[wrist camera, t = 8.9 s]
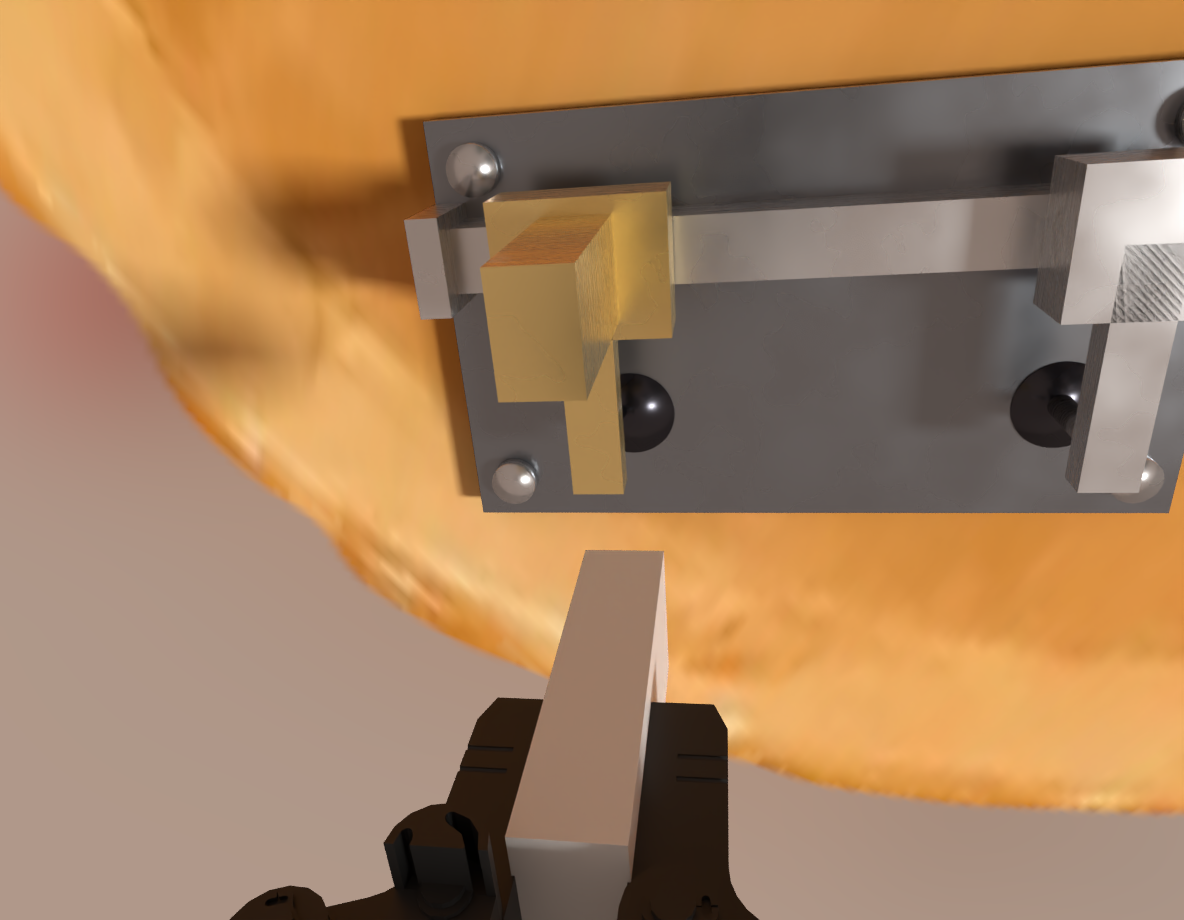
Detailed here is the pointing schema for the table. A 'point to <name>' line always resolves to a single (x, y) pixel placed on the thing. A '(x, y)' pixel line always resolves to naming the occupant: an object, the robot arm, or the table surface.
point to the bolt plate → (824, 305)
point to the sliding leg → (578, 306)
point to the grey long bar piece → (948, 270)
